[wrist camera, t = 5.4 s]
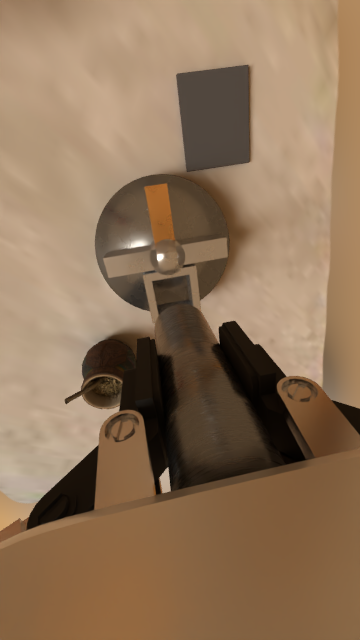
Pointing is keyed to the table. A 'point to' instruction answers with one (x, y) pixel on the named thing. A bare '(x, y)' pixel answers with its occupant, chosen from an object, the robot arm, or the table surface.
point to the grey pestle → (205, 406)
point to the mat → (214, 117)
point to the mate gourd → (105, 374)
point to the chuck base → (135, 231)
